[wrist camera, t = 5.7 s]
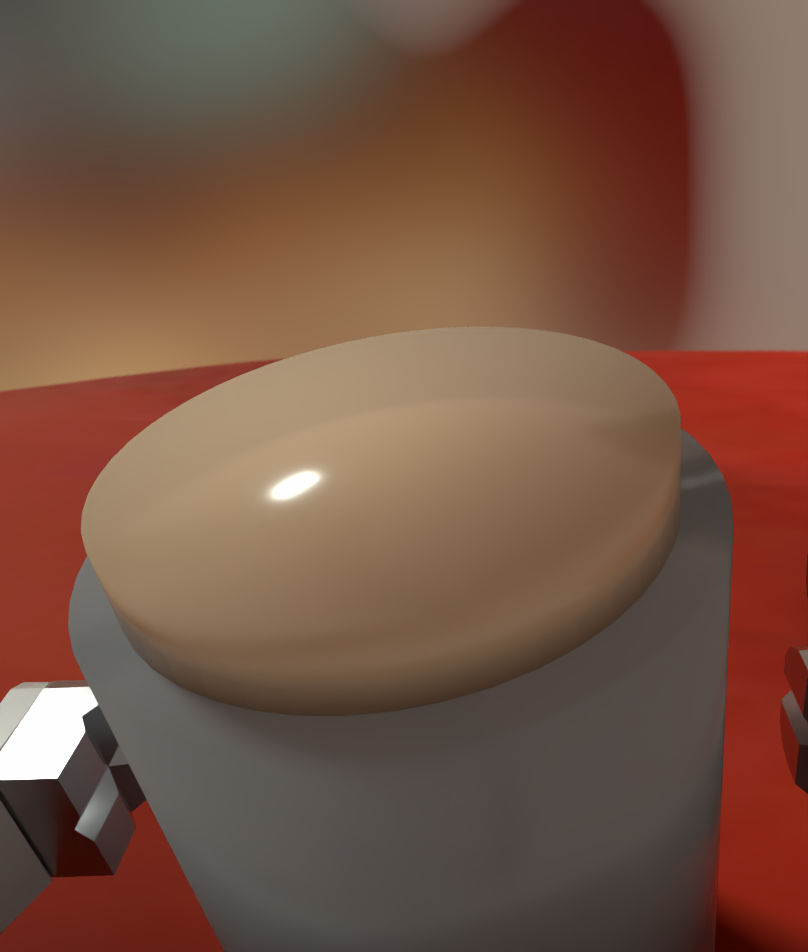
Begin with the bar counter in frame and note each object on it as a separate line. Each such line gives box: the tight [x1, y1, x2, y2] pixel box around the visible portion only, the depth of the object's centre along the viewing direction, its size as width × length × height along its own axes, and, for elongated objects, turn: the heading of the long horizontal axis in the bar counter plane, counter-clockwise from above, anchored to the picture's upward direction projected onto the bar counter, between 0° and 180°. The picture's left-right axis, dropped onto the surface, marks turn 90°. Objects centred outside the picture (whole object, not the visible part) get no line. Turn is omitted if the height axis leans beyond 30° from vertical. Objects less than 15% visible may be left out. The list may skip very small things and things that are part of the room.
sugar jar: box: [68, 327, 733, 952], centre depth 9 cm, size 6×6×9 cm
